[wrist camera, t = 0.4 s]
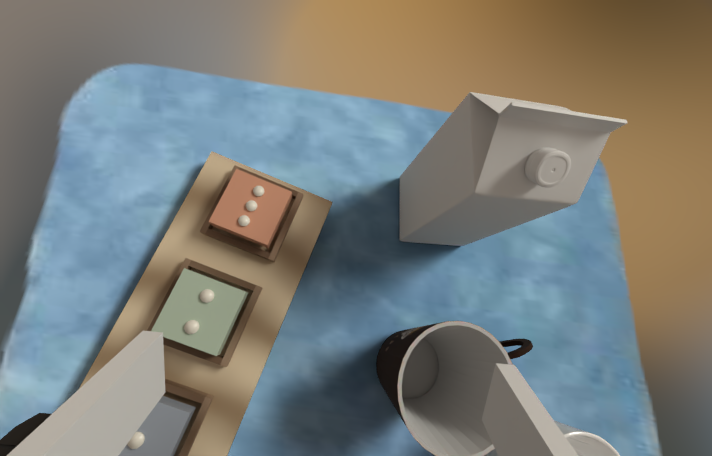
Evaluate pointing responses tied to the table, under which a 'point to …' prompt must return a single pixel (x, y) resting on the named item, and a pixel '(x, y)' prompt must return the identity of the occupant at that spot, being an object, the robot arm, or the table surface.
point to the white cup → (582, 442)
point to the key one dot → (160, 430)
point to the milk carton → (498, 168)
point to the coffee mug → (444, 383)
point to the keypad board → (232, 267)
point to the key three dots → (251, 208)
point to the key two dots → (200, 312)
